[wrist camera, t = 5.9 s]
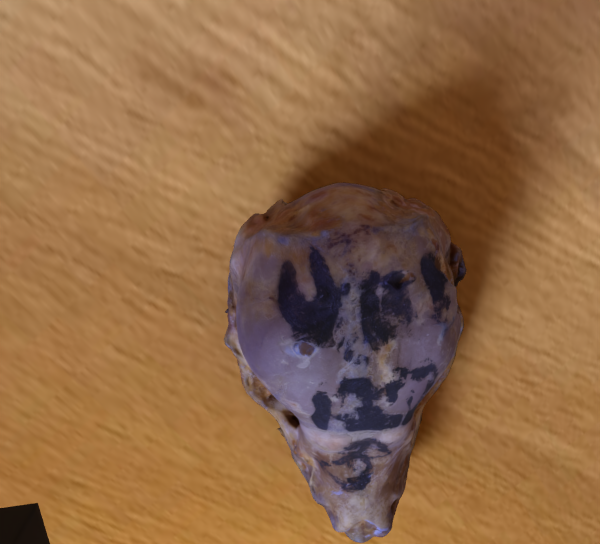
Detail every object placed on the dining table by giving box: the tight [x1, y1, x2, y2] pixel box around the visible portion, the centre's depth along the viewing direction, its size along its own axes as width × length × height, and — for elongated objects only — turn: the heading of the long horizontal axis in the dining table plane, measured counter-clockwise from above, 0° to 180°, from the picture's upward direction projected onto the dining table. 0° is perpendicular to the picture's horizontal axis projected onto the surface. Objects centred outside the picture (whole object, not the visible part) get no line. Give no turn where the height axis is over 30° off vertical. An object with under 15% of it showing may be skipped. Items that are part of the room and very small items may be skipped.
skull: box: [224, 183, 466, 543], centre depth 17 cm, size 12×8×6 cm, turn 177°
